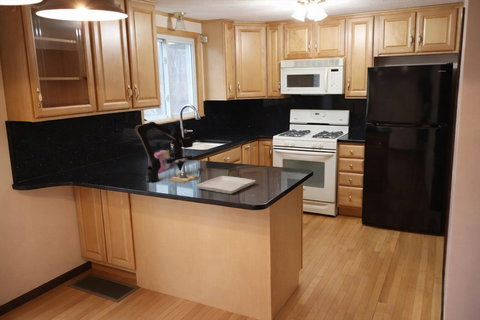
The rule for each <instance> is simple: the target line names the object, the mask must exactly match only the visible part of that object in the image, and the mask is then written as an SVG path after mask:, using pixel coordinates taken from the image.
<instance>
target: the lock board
mask: <svg viewBox="0 0 480 320" xmlns="http://www.w3.org/2000/svg"><path fill="white" fill-rule="evenodd" d="M198 179H199V176H197V175H191V174H187V178H179V175H176V176H173V177H170V178H168V179H167V181H168V182H170V183H171V182H172V183H177V184H186V183H189V182H190V183H191V182H192V181H194V180H198Z"/></svg>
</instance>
